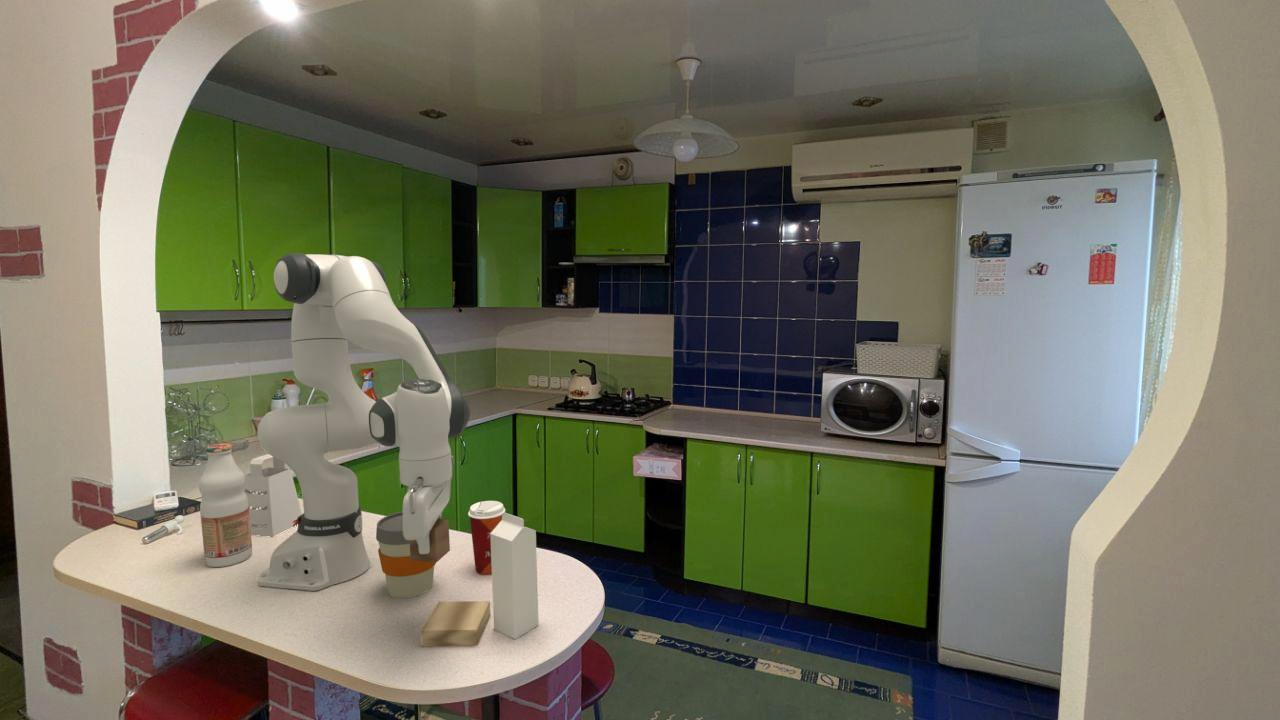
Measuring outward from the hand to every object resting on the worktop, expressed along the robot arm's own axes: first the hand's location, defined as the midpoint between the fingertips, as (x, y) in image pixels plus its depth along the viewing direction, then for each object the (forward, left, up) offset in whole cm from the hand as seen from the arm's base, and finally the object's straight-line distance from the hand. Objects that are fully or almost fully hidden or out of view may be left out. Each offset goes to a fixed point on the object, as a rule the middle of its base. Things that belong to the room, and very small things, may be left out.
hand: (430, 544), depth 108 cm
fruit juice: (-60, +34, -18) cm, 71 cm away
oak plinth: (+4, +2, -18) cm, 18 cm away
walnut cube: (0, 0, -2) cm, 2 cm away
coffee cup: (+4, +27, -18) cm, 32 cm away
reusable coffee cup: (-11, +19, -18) cm, 28 cm away
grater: (-61, +53, -18) cm, 83 cm away
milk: (+15, +2, -18) cm, 23 cm away
